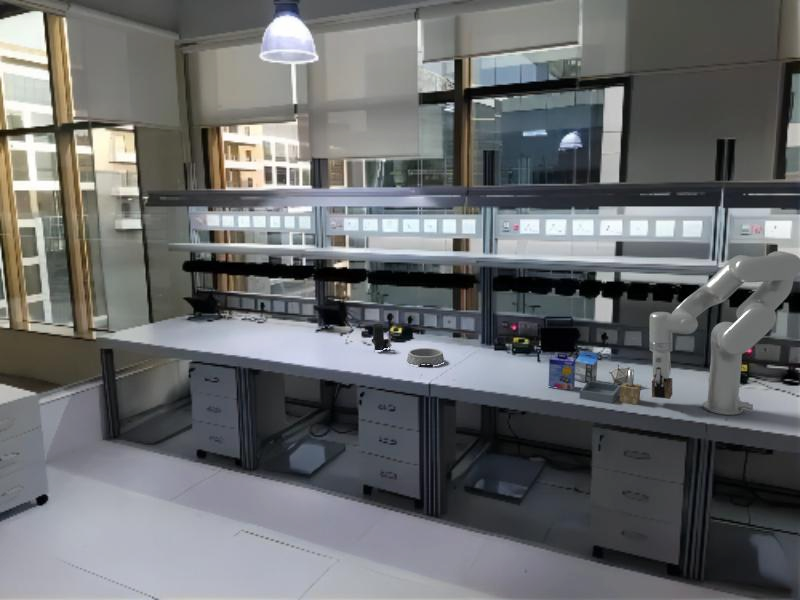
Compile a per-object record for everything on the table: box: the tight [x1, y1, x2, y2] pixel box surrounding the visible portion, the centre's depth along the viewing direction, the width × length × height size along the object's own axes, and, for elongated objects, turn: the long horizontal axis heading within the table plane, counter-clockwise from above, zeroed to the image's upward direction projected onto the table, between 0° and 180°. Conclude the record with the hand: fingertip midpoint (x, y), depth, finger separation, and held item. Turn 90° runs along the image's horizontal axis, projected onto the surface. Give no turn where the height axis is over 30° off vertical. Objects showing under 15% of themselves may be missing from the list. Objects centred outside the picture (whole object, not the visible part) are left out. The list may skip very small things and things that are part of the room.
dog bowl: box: [406, 347, 445, 367], centre depth 275 cm, size 17×18×5 cm
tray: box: [579, 381, 621, 404], centre depth 224 cm, size 12×14×3 cm
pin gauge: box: [627, 368, 635, 387], centre depth 217 cm, size 2×2×12 cm
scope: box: [371, 323, 392, 351], centre depth 297 cm, size 8×14×10 cm
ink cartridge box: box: [548, 353, 577, 391], centre depth 234 cm, size 10×6×14 cm, turn 67°
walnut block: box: [651, 377, 673, 400], centre depth 212 cm, size 6×6×6 cm
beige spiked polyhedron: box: [608, 364, 631, 386], centre depth 237 cm, size 9×8×10 cm
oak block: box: [619, 383, 641, 406], centre depth 217 cm, size 6×6×6 cm
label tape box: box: [575, 350, 599, 384], centre depth 242 cm, size 9×4×12 cm, turn 40°
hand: (661, 393), depth 213 cm, fingers closed on walnut block, 6 cm apart
